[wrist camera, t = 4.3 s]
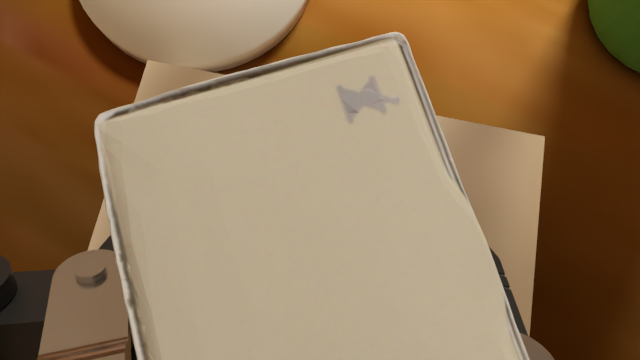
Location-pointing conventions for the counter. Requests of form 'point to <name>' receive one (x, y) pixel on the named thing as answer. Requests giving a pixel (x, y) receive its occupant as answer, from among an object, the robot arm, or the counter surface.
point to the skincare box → (300, 218)
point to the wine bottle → (618, 28)
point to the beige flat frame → (473, 169)
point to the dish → (195, 29)
